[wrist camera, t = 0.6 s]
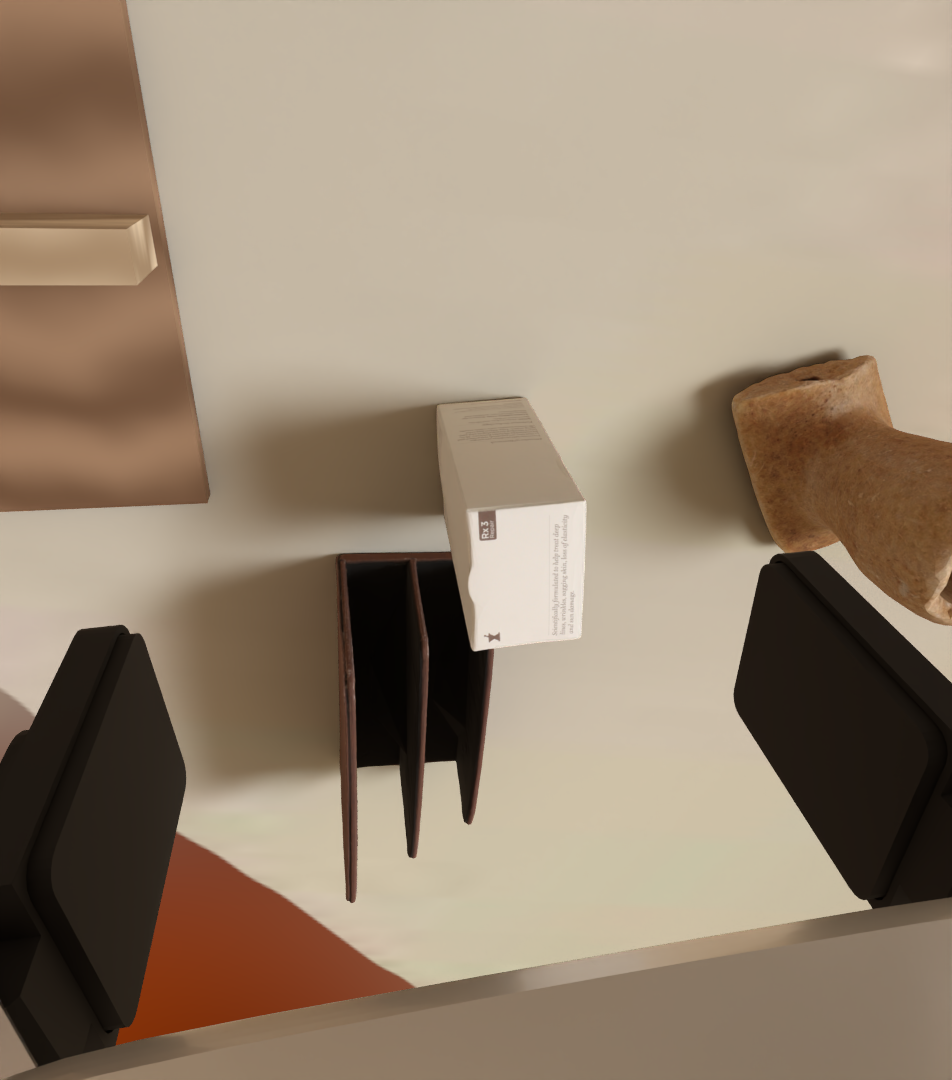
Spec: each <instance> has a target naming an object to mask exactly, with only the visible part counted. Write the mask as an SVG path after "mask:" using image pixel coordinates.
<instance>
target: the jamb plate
mask: <svg viewBox="0 0 952 1080" xmlns="http://www.w3.org/2000/svg"><path fill="white" fill-rule="evenodd" d="M209 496H210V490H209V484H208V478H207V472H206V466H205V461H204V455H203V449H202V443H201V437H200V431H199V426H198V420H197V414H196V408H195V402H194V396H193V391H192V385H191V379H190V373H189V367H188V361H187V356H186V350H185V344H184V338H183V332H182V326H181V321H180V315H179V309H178V303H177V297H176V291H175V286H174V280H173V274H172V268H171V262H170V256H169V250H168V245H167V239H166V233H165V227H164V221H163V215H162V210H161V204H160V198H159V192H158V186H157V180H156V175H155V169H154V163H153V157H152V151H151V145H150V140H149V134H148V128H147V122H146V116H145V110H144V105H143V99H142V93H141V87H140V81H139V75H138V69H137V64H136V58H135V52H134V46H133V40H132V34H131V29H130V23H129V17H128V11H127V5H126V0H0V512H9V511H33V510H56V509H79V508H103V507H126V506H150V505H173V504H197V503H207V502H208V499H209Z"/></svg>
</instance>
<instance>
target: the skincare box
mask: <svg viewBox="0 0 952 1080" xmlns="http://www.w3.org/2000/svg"><path fill="white" fill-rule="evenodd" d="M437 444H438V460H439V469H440V478H441V486H442V493H443V499H444V518H445V523H446V528H447V533H448V538H449V543H450V548H451V553H452V559H453V563H454V568H455V573H456V578H457V583H458V588H459V592H460V597H461V602H462V607H463V612H464V617H465V622H466V627H467V631H468V636H469V641H470V645H471V648H472V650H473V651H480V650H486V649H495V648H502V647H510V646H517V645H524V644H532V643H541V642H552V641H564V640H572V639H578V638H580V637H581V630H582V611H583V593H584V572H585V543H586V500H585V498H584V497H583V495H582V494H581V492H580V490H579V488H578V487H577V485H576V483H575V481H574V480H573V478H572V476H571V475H570V473H569V472H568V470H567V468H566V466H565V464H564V462H563V461H562V459H561V457H560V455H559V453H558V451H557V450H556V448H555V446H554V444H553V442H552V441H551V439H550V437H549V436H548V434H547V432H546V430H545V428H544V427H543V425H542V423H541V422H540V420H539V418H538V416H537V414H536V413H535V411H534V409H533V407H532V406H531V404H530V402H529V401H528V399H527V398H515V399H502V400H489V401H476V402H462V403H451V404H440V405H437Z"/></svg>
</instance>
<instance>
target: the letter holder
mask: <svg viewBox="0 0 952 1080" xmlns="http://www.w3.org/2000/svg"><path fill="white" fill-rule="evenodd" d="M336 575H337V613H338V658H339V660H338V663H339V706H340V773H341V803H342V822H343V848H344V864H345V880H346V900H347V901H350V902H351V903H353V902H355V899H356V890H357V846H358V844H357V843H358V842H357V840H358V835H357V830H358V829H357V812H358V811H357V802H358V801H357V768H360V767H368V766H384V765H400V777H401V787H402V796H403V805H404V817H405V828H406V839H407V853H408V856H409V857H410V858H411V857H412V858H416V856H417V851H418V842H419V831H420V817H421V806H422V791H423V778H424V777H423V776H424V763H427V762H440V761H456V762H457V771H458V778H459V785H460V794H461V802H462V814H463V819H464V822H466V823H467V824H468V825H469V824H471V823H472V821H473V818H474V814H475V809H476V802H477V796H478V788H479V781H480V774H481V767H482V759H483V750H484V743H485V735H486V734H485V733H486V724H487V716H488V707H489V698H490V689H491V680H492V668H493V657H494V649H486V650H480V651H473V650H472V648H471V645H470V641H469V636H468V631H467V627H466V622H465V617H464V612H463V607H462V602H461V597H460V592H459V588H458V583H457V578H456V573H455V568H454V563H453V559H452V553H451V552H438V553H366V554H342V555H339V556H337V557H336Z"/></svg>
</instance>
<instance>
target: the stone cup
mask: <svg viewBox="0 0 952 1080" xmlns="http://www.w3.org/2000/svg"><path fill="white" fill-rule="evenodd" d="M732 412H733V417H734V421H735V425H736V428H737V431H738V438H739V442H740V445H741V449H742V452H743V456H744V459H745V462H746V465H747V468H748V471H749V475H750V479H751V482H752V485H753V489H754V492H755V495H756V498H757V501H758V504H759V507H760V509H761V512H762V514H763V517H764V519H765V522H766V524H767V527H768V529H769V532H770V534H771V536H772V538H773V540H774V541H775V542H776V544H777V545H778V546H779V547H780V548H781V549H782V550H783V551H784V552H785V553H792V552H801V551H813V550H816V549H820V548H823V547H826V546H829V545H831V544H833V543H836V542H838V541H841V542H842V544H843V545H844V546H845V548H846V549H847V551H848V553H849V554H850V556H851V557H852V559H853V561H854V562H855V564H856V565H857V567H858V568H859V570H860V571H861V572H862V573H863V574H864V575H865V576H866V577H867V578H868V579H869V580H871V581H872V582H873V583H874V584H875V585H876V586H877V587H879V588H880V589H881V590H882V591H883V592H884V593H886V594H887V595H888V596H889V597H891V598H892V599H894V600H895V601H897V602H898V603H900V604H901V605H903V606H904V607H906V608H907V609H909V610H910V611H912V612H913V613H915V614H917V615H919V616H921V617H923V618H925V619H927V620H929V621H931V622H934V623H937V624H942V625H951V626H952V443H949V442H944V441H939V440H935V439H931V438H927V437H922V436H918V435H913V434H909V433H905V432H902V431H899V430H896V429H894V428H893V426H892V422H891V418H890V415H889V411H888V407H887V403H886V399H885V396H884V393H883V389H882V385H881V381H880V377H879V373H878V368H877V363H876V359H875V358H874V357H873V356H869V355H865V356H859V357H856V358H854V359H848V360H836V361H828V362H826V363H824V364H815V365H812V366H809V367H801V368H798V369H795V370H793V371H791V372H789V373H785V374H784V373H782V374H779V375H775V376H772V377H768V378H766V379H765V380H763V381H761V382H759V383H754V384H752V385H751V386H749V387H748V388H746V389H745V390H743V391H741V392H740V393H738V394H737V395H735V396H734V398H733V400H732Z"/></svg>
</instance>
